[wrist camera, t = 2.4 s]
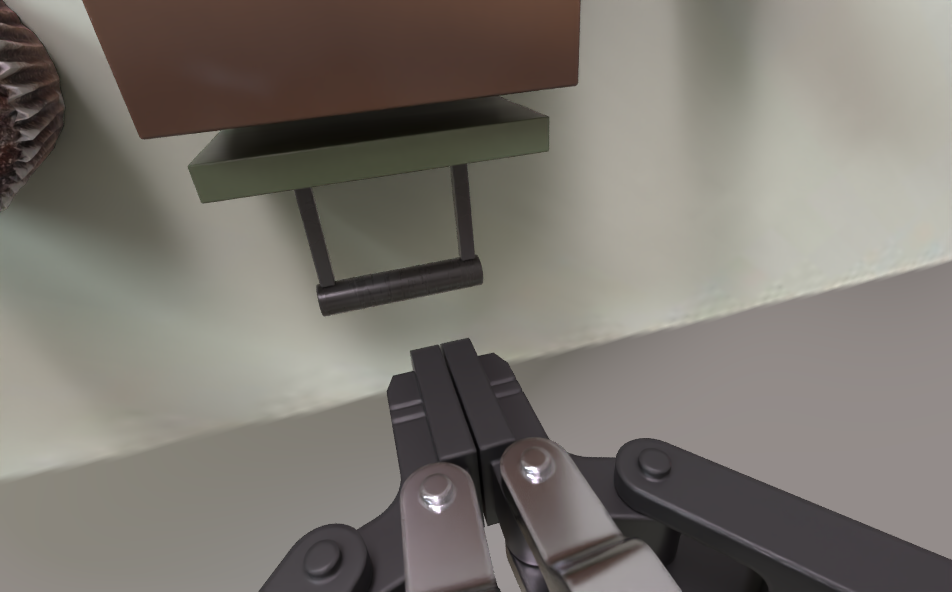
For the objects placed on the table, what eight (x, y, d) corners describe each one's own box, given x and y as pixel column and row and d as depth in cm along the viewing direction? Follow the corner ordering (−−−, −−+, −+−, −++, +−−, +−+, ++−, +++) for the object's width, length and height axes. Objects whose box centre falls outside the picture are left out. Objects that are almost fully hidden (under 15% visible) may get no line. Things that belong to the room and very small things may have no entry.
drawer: (498, 238, 26) (549, 299, 20) (276, 279, 24) (261, 362, 18) (471, -264, 17) (551, -418, 11) (94, -275, 14) (-61, -478, 8)
